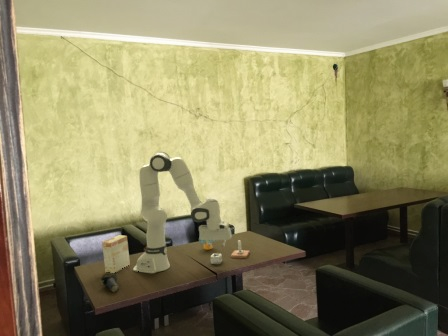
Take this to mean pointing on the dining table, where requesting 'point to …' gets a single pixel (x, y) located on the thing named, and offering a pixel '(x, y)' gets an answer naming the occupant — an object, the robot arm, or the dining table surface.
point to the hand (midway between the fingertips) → (216, 246)
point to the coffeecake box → (116, 253)
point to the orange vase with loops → (206, 244)
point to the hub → (216, 258)
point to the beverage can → (110, 282)
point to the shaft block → (240, 252)
